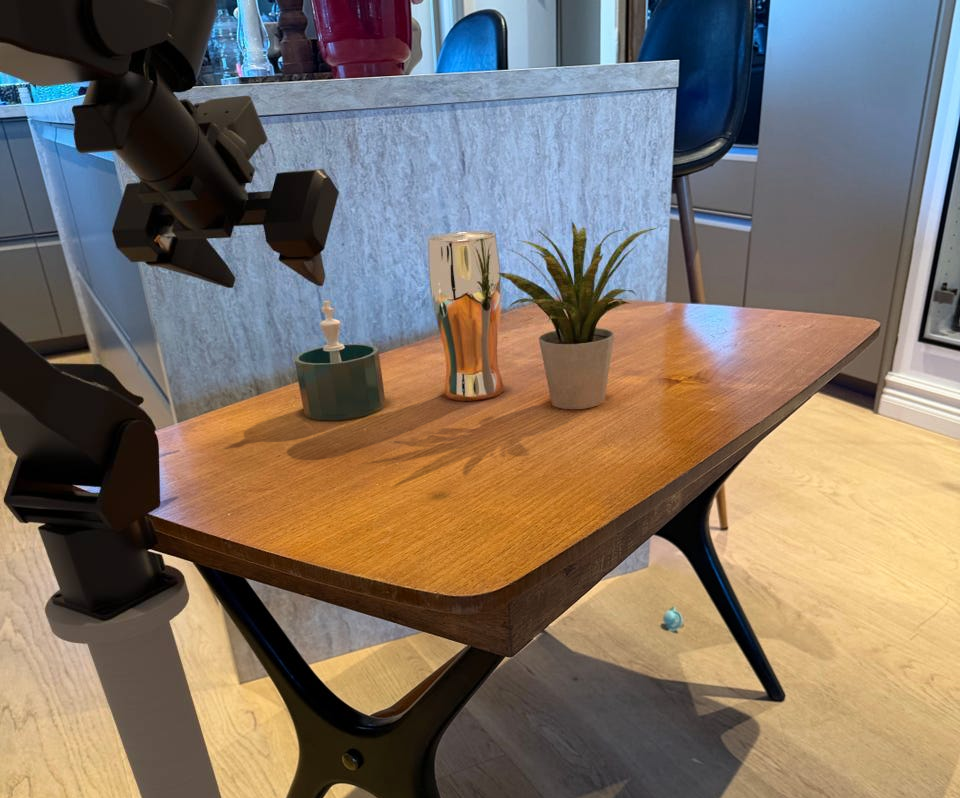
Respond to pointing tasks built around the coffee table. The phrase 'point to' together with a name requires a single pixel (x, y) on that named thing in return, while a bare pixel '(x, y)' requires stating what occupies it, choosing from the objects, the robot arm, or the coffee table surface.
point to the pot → (340, 383)
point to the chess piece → (331, 333)
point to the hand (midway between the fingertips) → (276, 282)
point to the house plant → (575, 322)
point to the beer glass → (467, 311)
